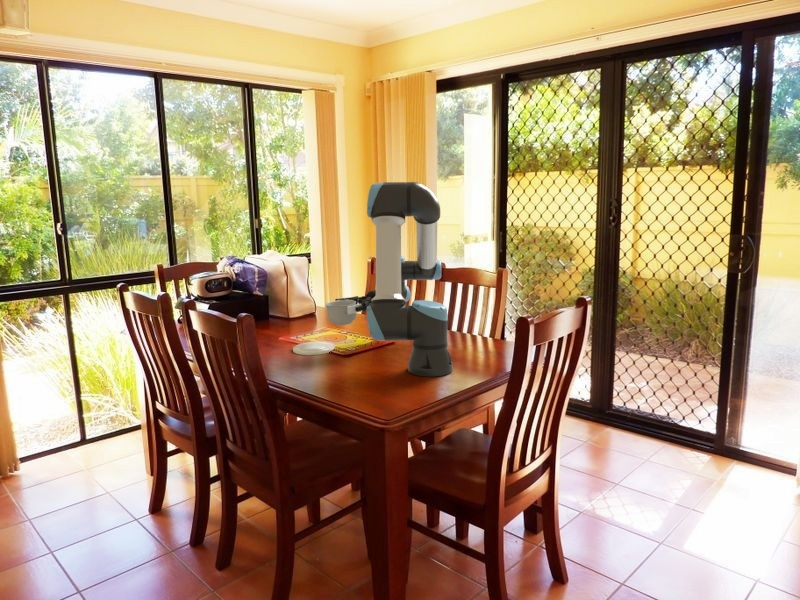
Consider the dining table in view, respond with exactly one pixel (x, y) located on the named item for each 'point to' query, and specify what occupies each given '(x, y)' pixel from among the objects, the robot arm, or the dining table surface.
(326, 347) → the saucer
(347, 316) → the teacup
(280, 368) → the dining table surface
